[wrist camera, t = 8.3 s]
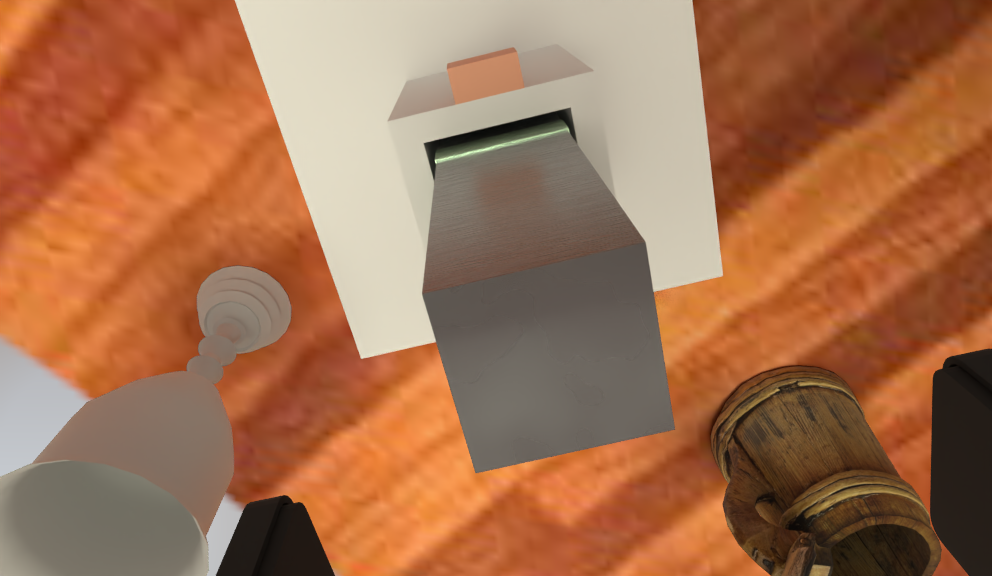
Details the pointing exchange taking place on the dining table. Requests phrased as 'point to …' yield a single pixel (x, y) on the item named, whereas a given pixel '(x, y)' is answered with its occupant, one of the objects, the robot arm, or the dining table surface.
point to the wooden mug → (816, 482)
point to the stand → (479, 125)
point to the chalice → (142, 457)
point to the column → (540, 298)
